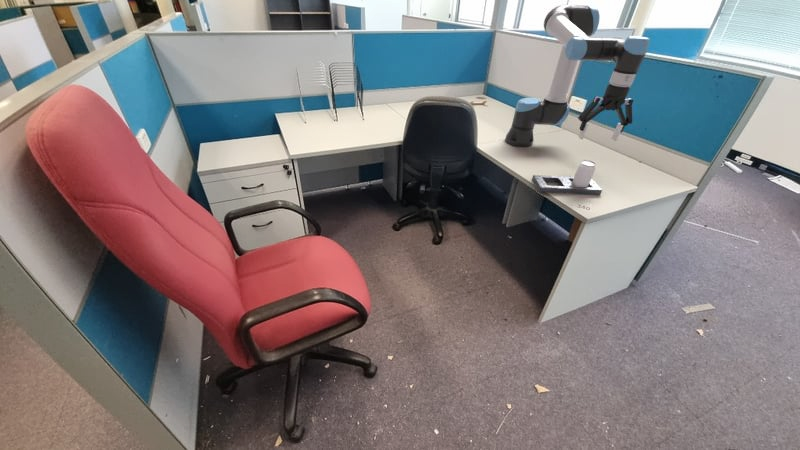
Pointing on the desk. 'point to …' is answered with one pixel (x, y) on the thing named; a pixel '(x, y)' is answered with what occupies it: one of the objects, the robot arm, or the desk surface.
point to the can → (584, 173)
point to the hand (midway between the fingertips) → (597, 139)
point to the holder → (564, 185)
